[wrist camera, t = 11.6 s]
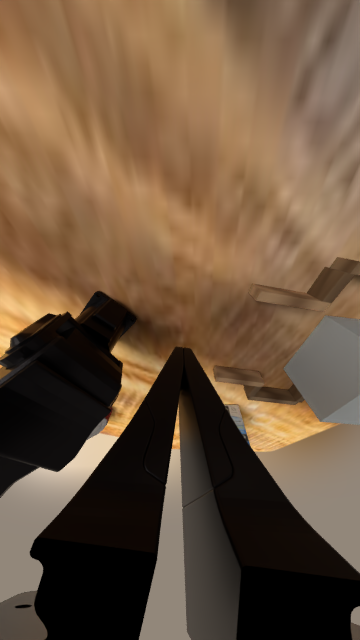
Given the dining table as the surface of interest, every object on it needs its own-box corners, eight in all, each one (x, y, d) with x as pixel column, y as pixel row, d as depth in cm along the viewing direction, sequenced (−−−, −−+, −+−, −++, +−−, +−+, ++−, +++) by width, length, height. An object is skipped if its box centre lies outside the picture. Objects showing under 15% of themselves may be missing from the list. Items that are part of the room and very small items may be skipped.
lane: (206, 383, 30) (209, 403, 27) (270, 243, 16) (293, 248, 13) (336, 399, 32) (353, 419, 29) (495, 288, 18) (567, 302, 15)
